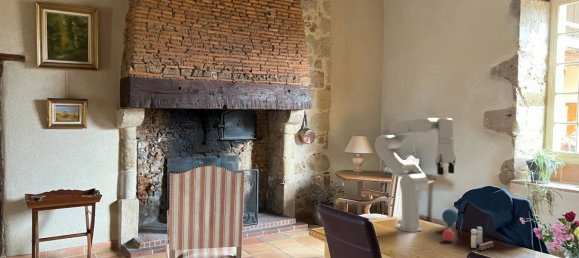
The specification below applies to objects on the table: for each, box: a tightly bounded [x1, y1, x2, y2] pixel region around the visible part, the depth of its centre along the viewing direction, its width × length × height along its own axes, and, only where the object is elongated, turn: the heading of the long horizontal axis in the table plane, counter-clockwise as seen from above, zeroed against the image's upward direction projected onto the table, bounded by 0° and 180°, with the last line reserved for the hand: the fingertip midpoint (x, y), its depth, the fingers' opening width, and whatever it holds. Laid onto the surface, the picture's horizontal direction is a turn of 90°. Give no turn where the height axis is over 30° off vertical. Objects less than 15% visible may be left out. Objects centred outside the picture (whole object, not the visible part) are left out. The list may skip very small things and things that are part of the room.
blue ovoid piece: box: [441, 208, 459, 231], centre depth 254 cm, size 8×8×12 cm
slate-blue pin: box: [476, 226, 483, 246], centre depth 224 cm, size 2×2×8 cm
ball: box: [441, 228, 456, 242], centre depth 231 cm, size 6×6×6 cm
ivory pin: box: [470, 228, 477, 249], centre depth 219 cm, size 2×2×8 cm
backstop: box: [478, 240, 494, 251], centre depth 217 cm, size 1×11×2 cm, turn 127°
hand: (445, 173), depth 236 cm, fingers open, 9 cm apart
